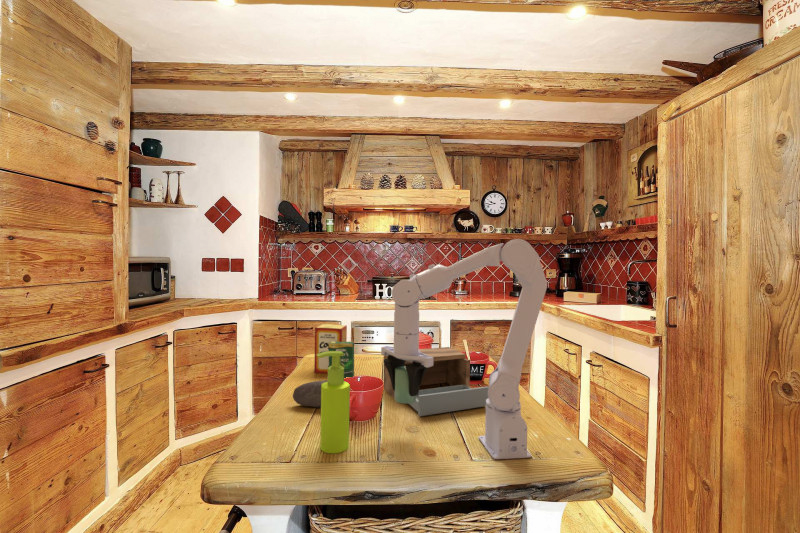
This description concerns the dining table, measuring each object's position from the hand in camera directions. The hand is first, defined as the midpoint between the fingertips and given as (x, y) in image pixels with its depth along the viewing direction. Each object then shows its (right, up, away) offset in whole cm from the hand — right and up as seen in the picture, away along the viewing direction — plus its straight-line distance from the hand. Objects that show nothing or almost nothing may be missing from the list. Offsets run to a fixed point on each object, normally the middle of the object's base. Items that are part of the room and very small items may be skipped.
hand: (405, 392), depth 88 cm
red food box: (-26, -8, +48) cm, 55 cm away
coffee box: (-20, -9, +35) cm, 41 cm away
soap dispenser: (-15, -9, -7) cm, 19 cm away
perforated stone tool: (-22, -9, +15) cm, 29 cm away
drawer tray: (+11, -9, +18) cm, 23 cm away
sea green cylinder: (0, -2, 0) cm, 2 cm away
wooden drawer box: (+7, -9, +29) cm, 31 cm away
